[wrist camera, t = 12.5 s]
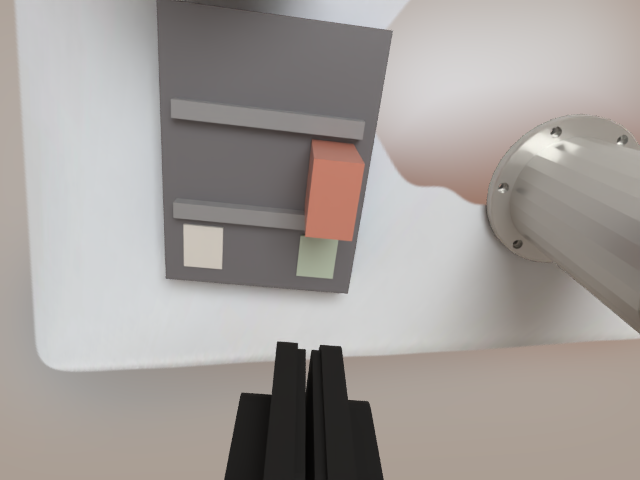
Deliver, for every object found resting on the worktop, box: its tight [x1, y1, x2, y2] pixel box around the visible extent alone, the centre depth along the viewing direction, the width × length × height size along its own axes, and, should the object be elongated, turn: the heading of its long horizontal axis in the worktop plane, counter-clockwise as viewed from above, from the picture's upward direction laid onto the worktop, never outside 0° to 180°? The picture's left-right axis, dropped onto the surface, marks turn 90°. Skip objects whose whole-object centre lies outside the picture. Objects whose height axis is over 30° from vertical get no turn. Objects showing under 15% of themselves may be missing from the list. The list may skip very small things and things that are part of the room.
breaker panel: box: [157, 0, 393, 294], centre depth 31 cm, size 15×20×4 cm
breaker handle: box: [305, 139, 365, 241], centre depth 28 cm, size 3×5×6 cm, turn 173°
